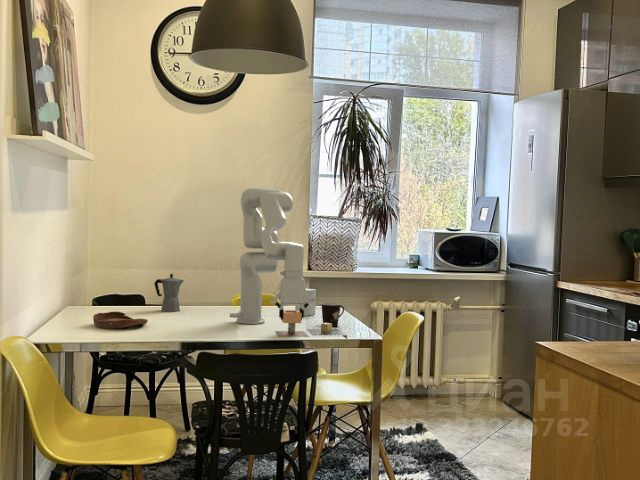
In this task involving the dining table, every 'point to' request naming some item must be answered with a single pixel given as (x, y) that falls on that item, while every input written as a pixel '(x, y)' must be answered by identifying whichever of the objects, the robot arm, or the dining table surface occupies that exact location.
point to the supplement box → (311, 307)
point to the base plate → (327, 330)
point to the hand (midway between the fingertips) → (291, 318)
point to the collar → (292, 316)
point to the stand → (291, 332)
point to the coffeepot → (169, 293)
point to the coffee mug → (331, 313)
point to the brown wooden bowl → (116, 320)
